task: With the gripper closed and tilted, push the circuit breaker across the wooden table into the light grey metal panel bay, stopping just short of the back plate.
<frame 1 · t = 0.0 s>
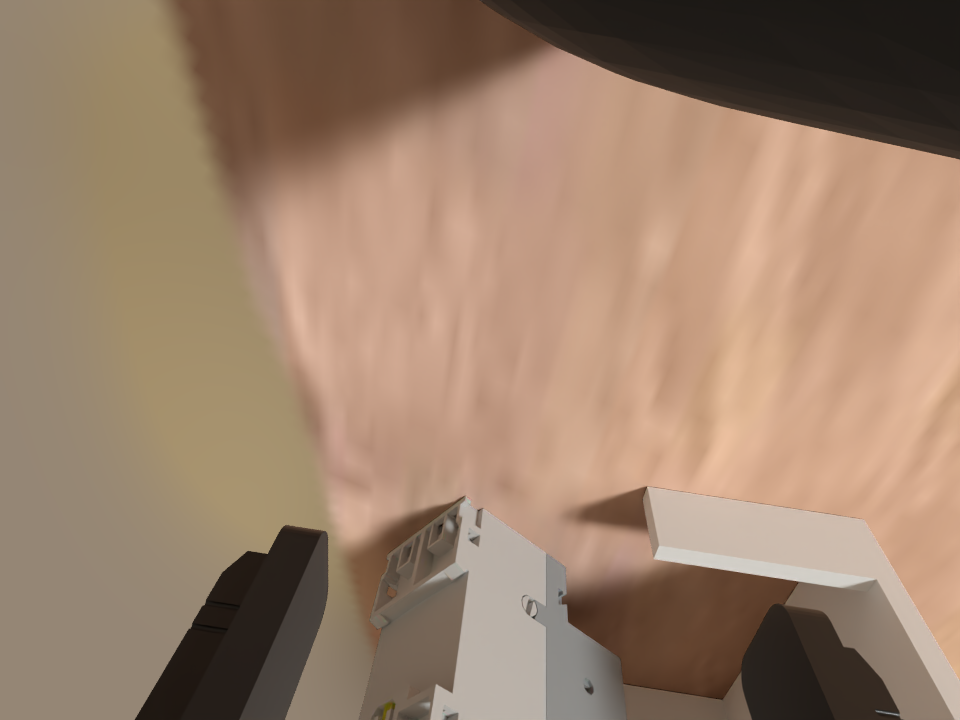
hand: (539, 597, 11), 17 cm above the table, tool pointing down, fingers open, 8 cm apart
circuit breaker: (511, 581, 38), on the table
panel bay: (667, 609, 37), on the table
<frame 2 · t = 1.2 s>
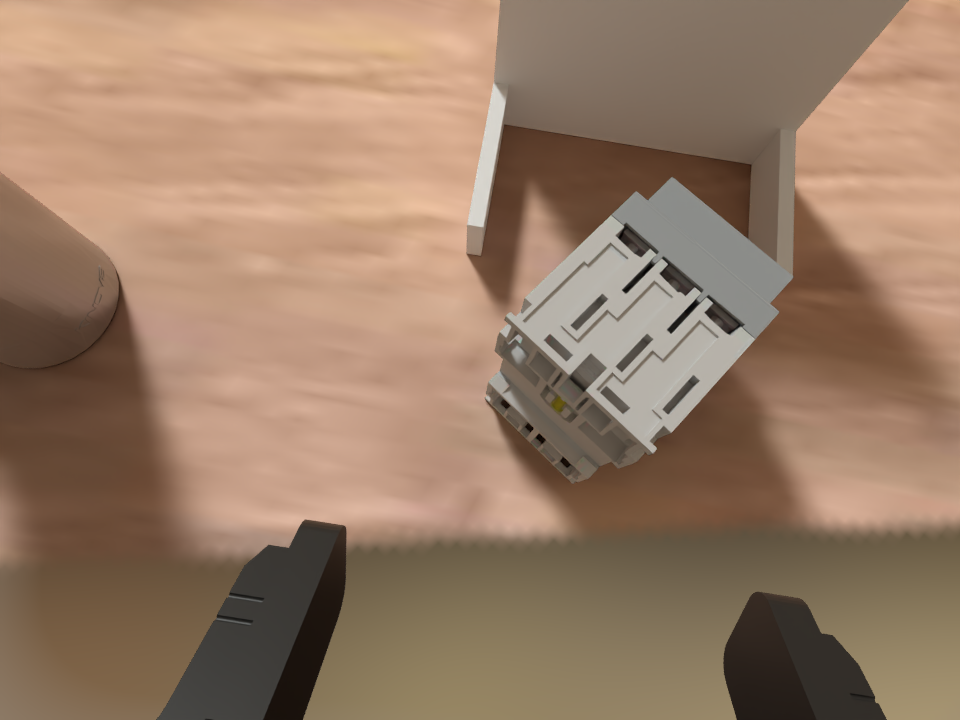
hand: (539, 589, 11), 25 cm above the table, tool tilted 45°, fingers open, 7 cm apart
circuit breaker: (602, 363, 38), on the table
panel bay: (618, 224, 41), on the table
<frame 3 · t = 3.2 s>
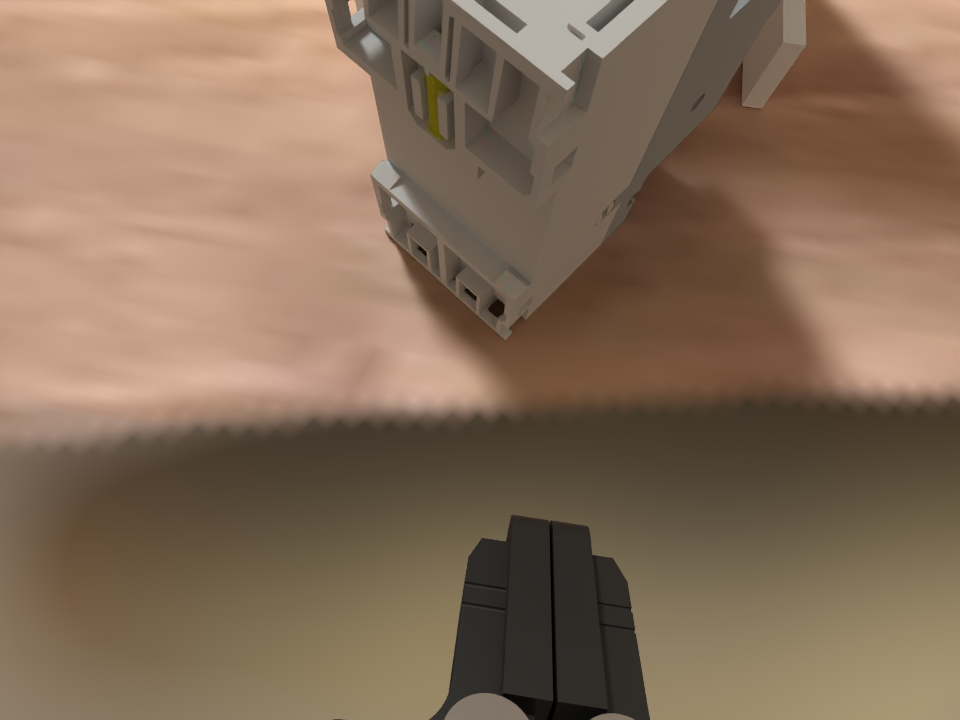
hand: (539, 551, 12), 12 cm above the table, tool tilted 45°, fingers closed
circuit breaker: (549, 187, 28), on the table
panel bay: (570, 18, 31), on the table
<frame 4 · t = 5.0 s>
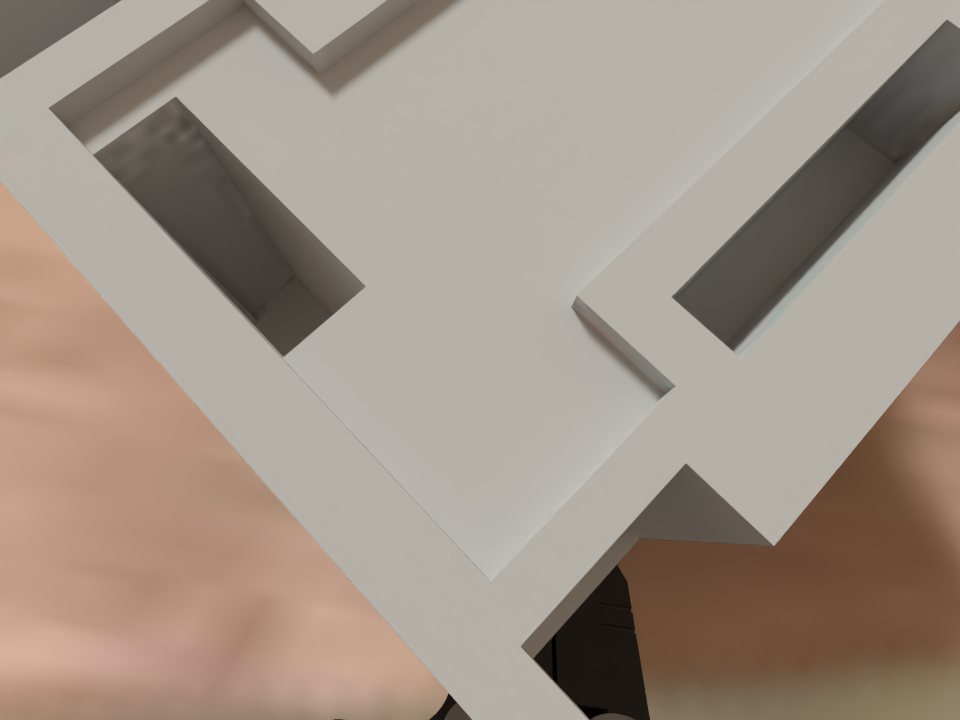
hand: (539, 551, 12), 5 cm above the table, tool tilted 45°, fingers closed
circuit breaker: (546, 306, 18), on the table, touching gripper
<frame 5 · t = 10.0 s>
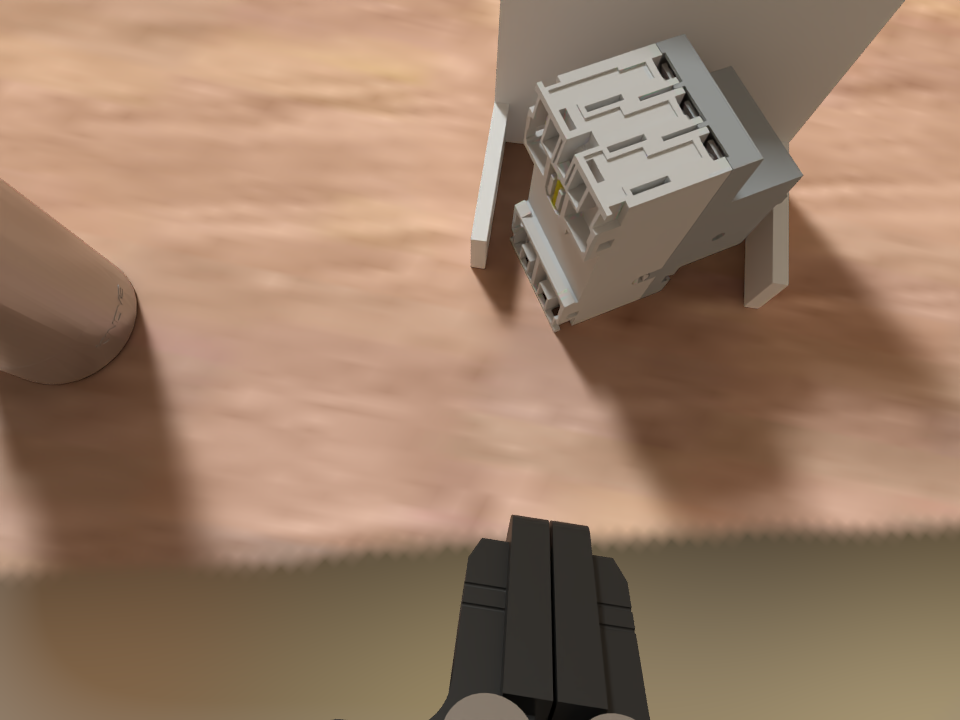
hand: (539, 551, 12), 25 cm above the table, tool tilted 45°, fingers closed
circuit breaker: (622, 251, 42), on the table
panel bay: (618, 236, 42), on the table
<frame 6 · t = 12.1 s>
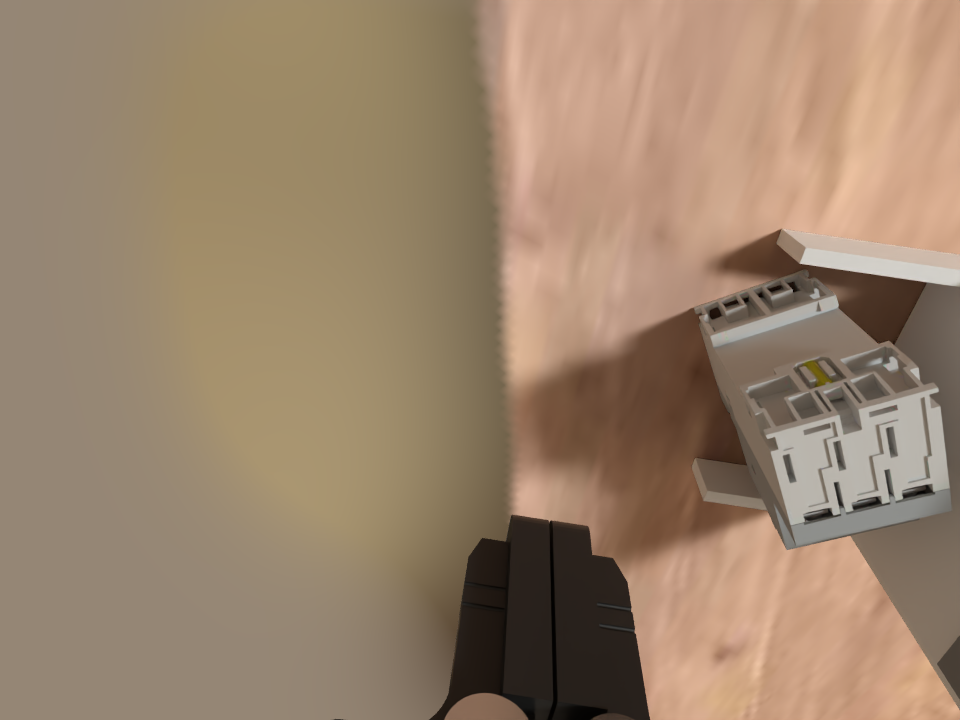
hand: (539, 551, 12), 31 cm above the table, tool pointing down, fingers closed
circuit breaker: (768, 371, 44), on the table
panel bay: (785, 369, 43), on the table
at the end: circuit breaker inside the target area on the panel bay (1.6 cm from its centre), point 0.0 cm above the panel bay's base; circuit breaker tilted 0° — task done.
